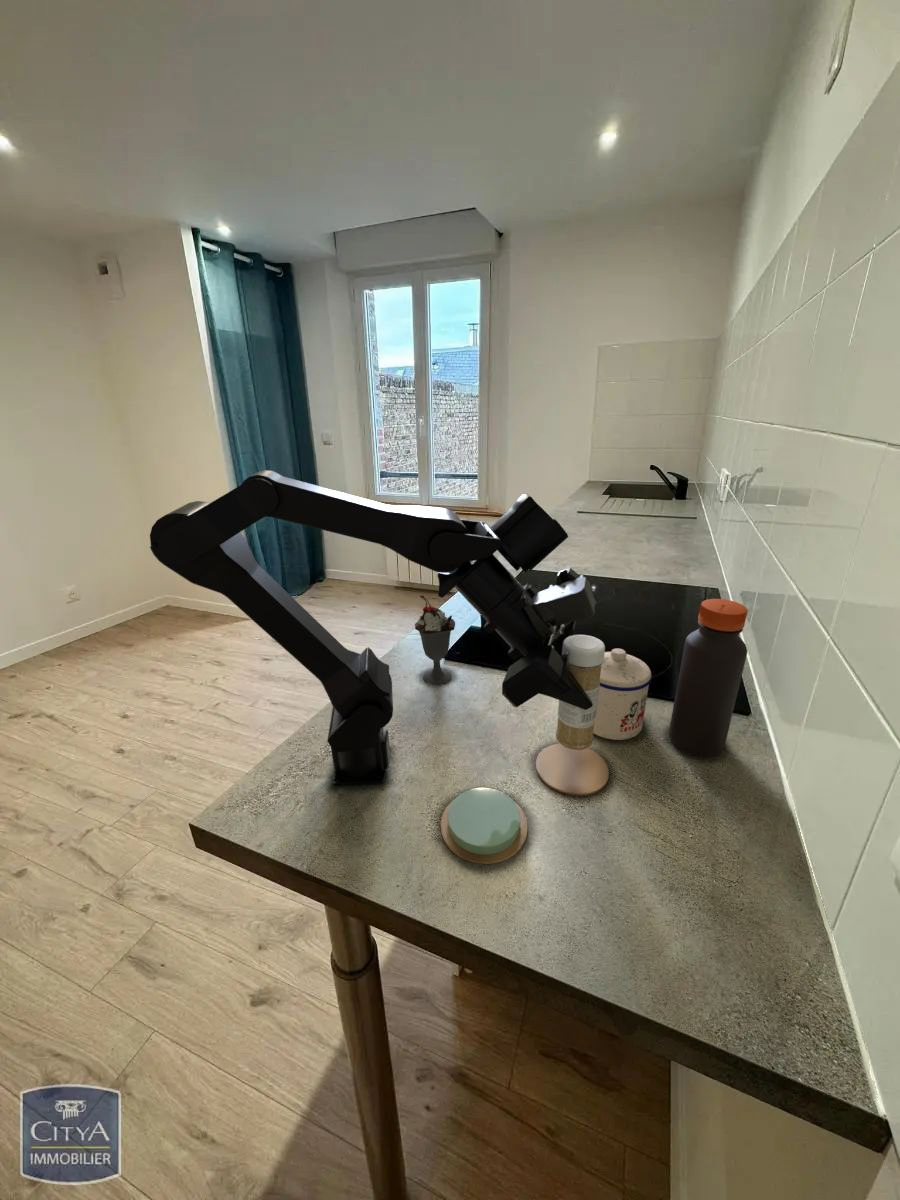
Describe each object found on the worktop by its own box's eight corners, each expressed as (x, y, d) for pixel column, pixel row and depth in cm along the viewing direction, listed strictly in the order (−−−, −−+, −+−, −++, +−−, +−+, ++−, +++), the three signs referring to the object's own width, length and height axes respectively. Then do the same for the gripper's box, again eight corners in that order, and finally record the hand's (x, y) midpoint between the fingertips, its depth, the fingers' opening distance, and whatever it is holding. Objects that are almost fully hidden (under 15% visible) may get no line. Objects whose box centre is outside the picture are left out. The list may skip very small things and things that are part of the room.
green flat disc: (448, 856, 49) (448, 848, 48) (446, 796, 56) (446, 789, 55) (526, 852, 49) (526, 844, 48) (514, 793, 56) (514, 785, 56)
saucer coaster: (441, 866, 48) (441, 864, 48) (440, 793, 57) (440, 792, 57) (535, 861, 48) (535, 859, 48) (519, 790, 57) (519, 788, 57)
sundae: (413, 670, 83) (408, 591, 77) (450, 664, 85) (447, 586, 79) (423, 690, 77) (417, 607, 71) (461, 683, 79) (459, 600, 73)
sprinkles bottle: (582, 725, 60) (592, 630, 55) (600, 748, 56) (613, 649, 51) (548, 730, 59) (556, 635, 54) (564, 755, 55) (574, 654, 50)
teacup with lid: (630, 751, 62) (641, 676, 58) (567, 725, 68) (572, 654, 63) (658, 708, 71) (670, 639, 66) (600, 688, 76) (607, 623, 72)
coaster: (544, 797, 56) (544, 795, 56) (529, 746, 64) (529, 744, 64) (619, 793, 56) (619, 791, 56) (595, 743, 64) (595, 741, 64)
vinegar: (729, 762, 60) (765, 620, 52) (671, 753, 62) (698, 615, 54) (717, 729, 66) (747, 597, 58) (665, 722, 68) (687, 593, 60)
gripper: (540, 585, 42) (656, 710, 43) (563, 532, 58) (646, 624, 59) (457, 651, 47) (561, 761, 48) (499, 586, 63) (576, 669, 64)
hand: (590, 696), depth 55 cm, fingers closed on sprinkles bottle, 4 cm apart
